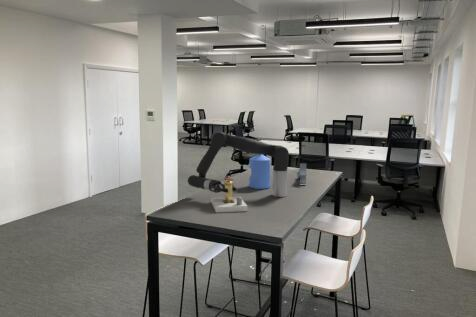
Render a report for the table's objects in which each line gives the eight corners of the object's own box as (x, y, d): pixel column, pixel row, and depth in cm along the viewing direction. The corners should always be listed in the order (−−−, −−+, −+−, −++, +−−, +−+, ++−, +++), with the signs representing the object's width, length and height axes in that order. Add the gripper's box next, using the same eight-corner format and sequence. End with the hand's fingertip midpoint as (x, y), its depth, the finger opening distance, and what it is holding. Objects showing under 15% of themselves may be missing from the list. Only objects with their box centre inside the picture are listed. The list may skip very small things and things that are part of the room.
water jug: (274, 186, 285) (275, 149, 281) (262, 190, 273) (263, 151, 269) (256, 183, 294) (257, 147, 290) (244, 187, 282) (245, 149, 278)
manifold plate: (211, 202, 237) (211, 191, 236) (240, 201, 241) (240, 190, 240) (215, 212, 216) (215, 200, 215) (247, 211, 219) (247, 199, 218)
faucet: (296, 192, 313) (299, 183, 285) (296, 172, 318) (299, 161, 290) (304, 192, 313) (307, 183, 284) (304, 172, 318) (307, 161, 289)
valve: (221, 206, 229) (221, 178, 227) (228, 204, 232) (228, 177, 230) (229, 208, 224) (229, 179, 222) (235, 206, 228) (235, 178, 226)
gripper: (203, 181, 231) (222, 185, 219) (221, 178, 241) (240, 182, 230) (203, 193, 232) (222, 198, 220) (221, 189, 242) (240, 194, 231)
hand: (231, 190), depth 225 cm, fingers open, 6 cm apart
